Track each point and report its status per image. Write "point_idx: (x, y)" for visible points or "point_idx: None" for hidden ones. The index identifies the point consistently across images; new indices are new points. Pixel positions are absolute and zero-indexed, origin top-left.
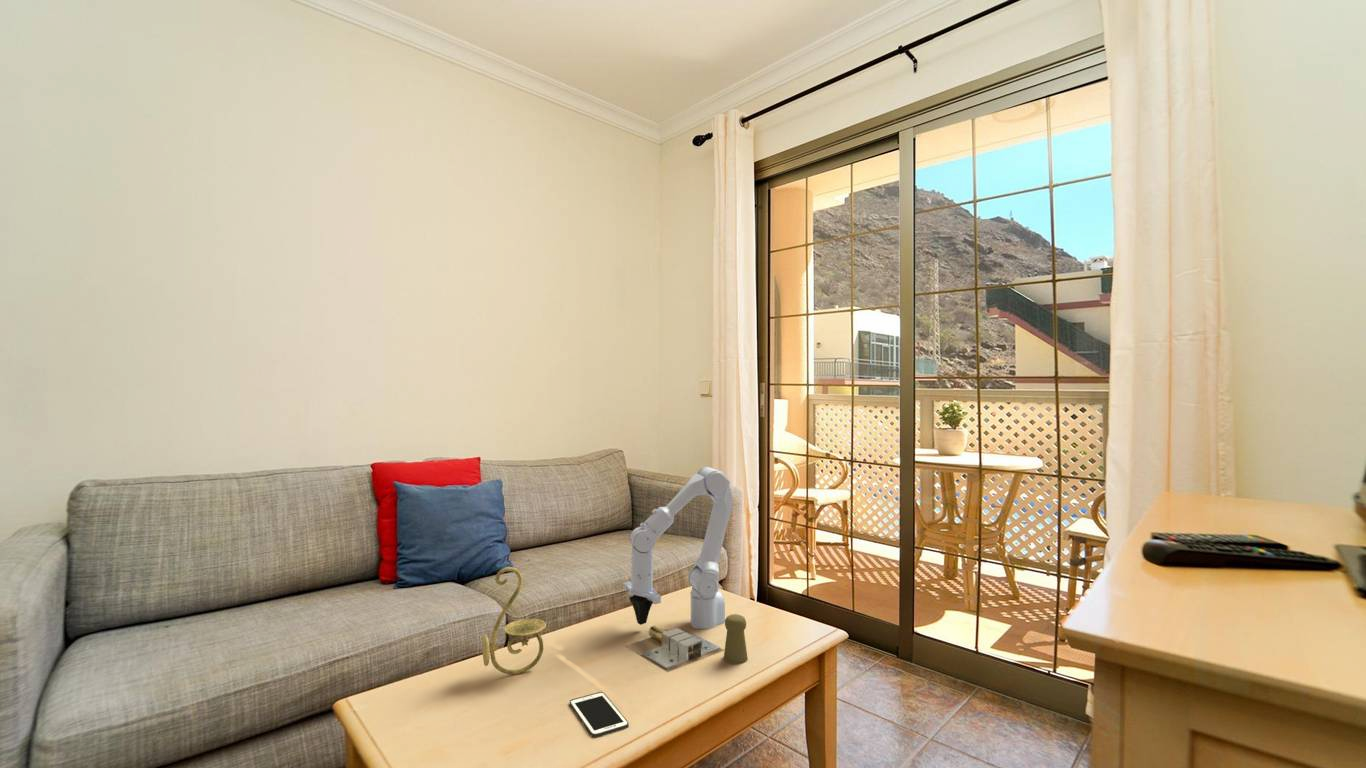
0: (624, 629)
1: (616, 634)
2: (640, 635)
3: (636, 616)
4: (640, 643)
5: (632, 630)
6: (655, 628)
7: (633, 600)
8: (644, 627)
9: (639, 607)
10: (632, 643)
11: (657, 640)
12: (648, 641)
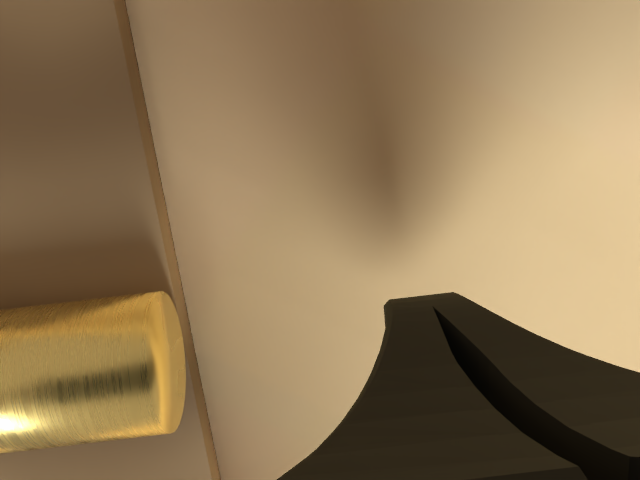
0: (633, 174)
1: (575, 15)
2: (368, 251)
3: (479, 319)
4: (61, 105)
5: (545, 239)
6: (55, 389)
7: (634, 470)
8: None
9: (331, 437)
10: (115, 13)
11: None
12: (73, 219)
